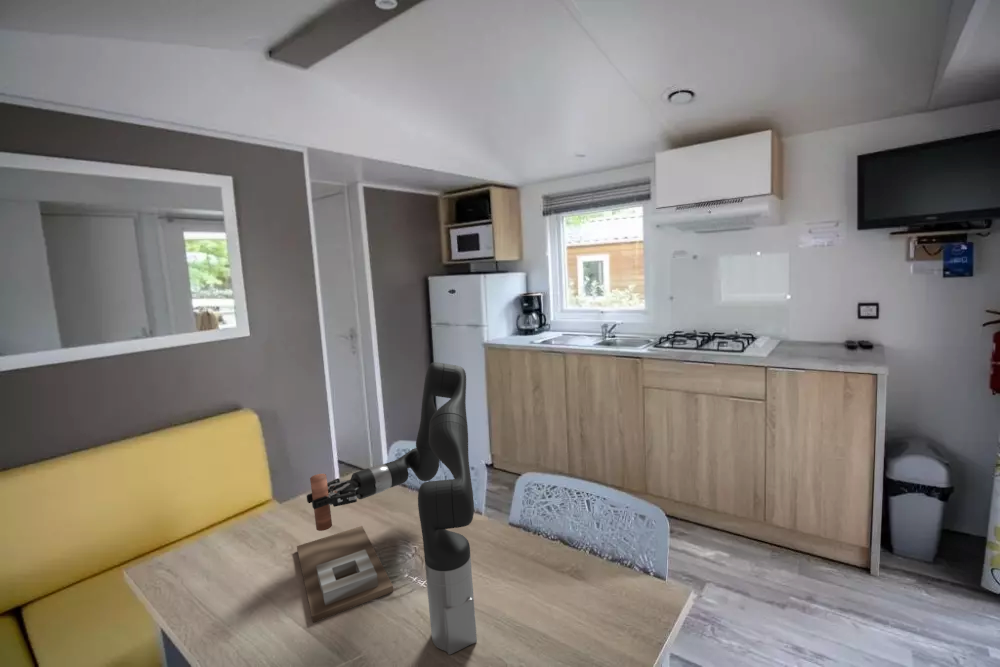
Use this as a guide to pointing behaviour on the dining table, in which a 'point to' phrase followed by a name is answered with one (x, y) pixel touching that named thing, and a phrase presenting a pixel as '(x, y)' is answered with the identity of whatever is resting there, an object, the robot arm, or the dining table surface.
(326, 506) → the pin
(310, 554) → the socket board
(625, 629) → the dining table surface
